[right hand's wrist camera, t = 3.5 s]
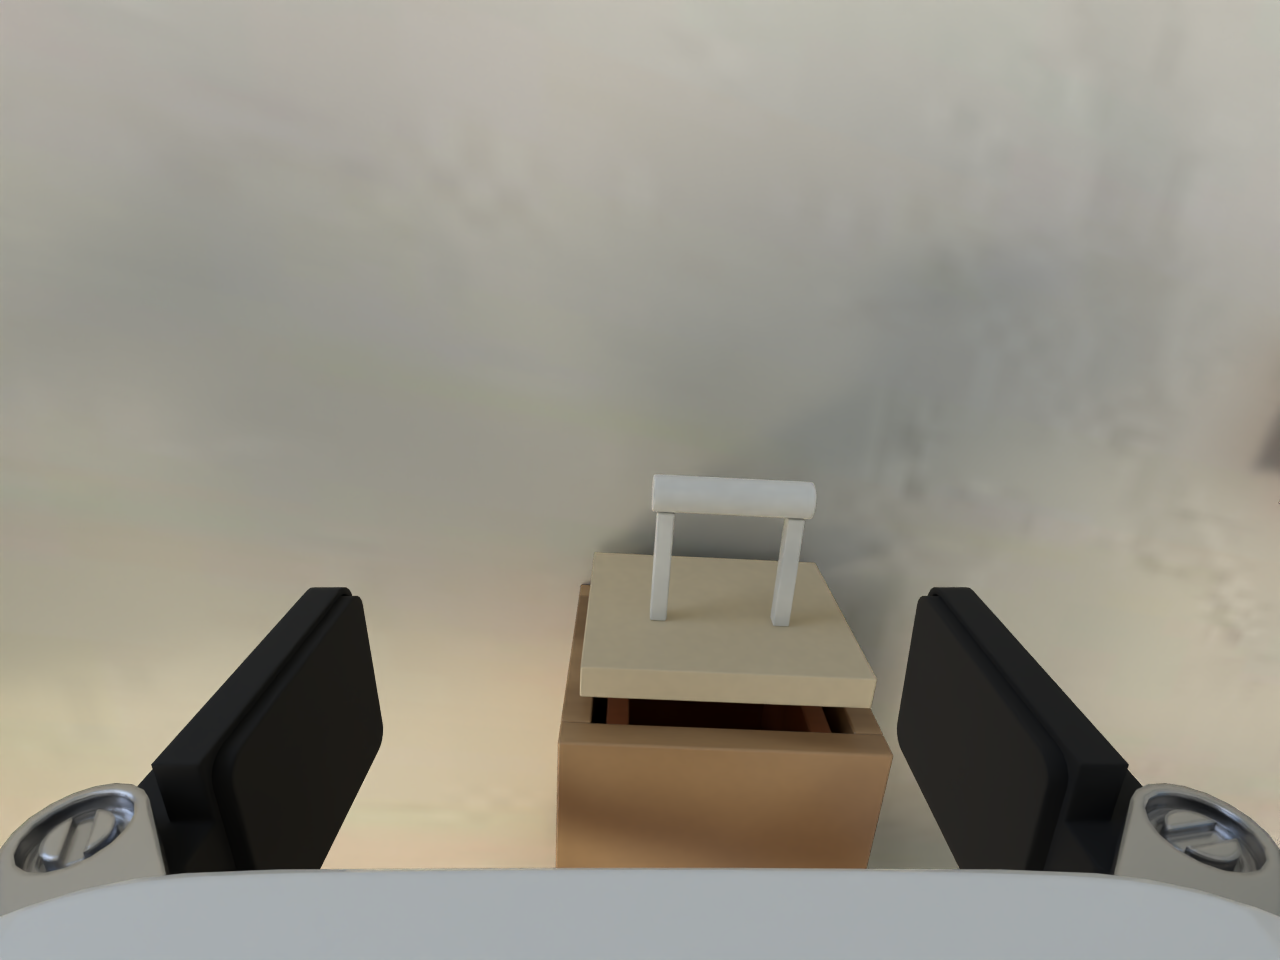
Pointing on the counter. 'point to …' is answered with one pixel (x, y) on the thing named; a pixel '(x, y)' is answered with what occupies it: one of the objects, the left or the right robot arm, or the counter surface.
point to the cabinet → (713, 789)
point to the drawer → (721, 623)
